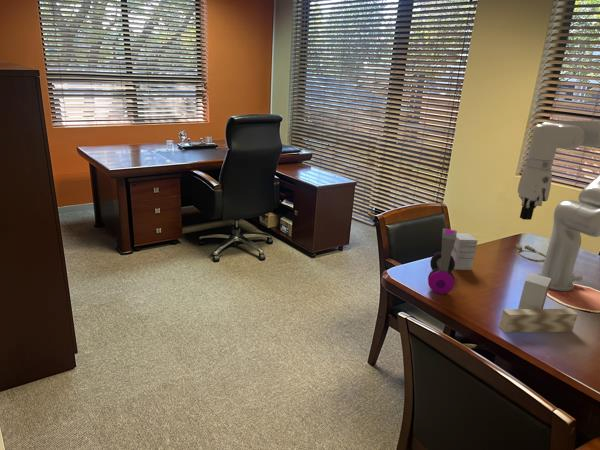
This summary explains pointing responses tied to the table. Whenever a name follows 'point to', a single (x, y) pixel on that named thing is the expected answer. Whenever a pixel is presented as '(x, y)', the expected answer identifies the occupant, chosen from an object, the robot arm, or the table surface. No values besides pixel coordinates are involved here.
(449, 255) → the headphones
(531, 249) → the extension cord
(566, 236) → the robot arm
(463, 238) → the supplement box
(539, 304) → the small box
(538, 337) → the table surface
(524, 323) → the birch board
